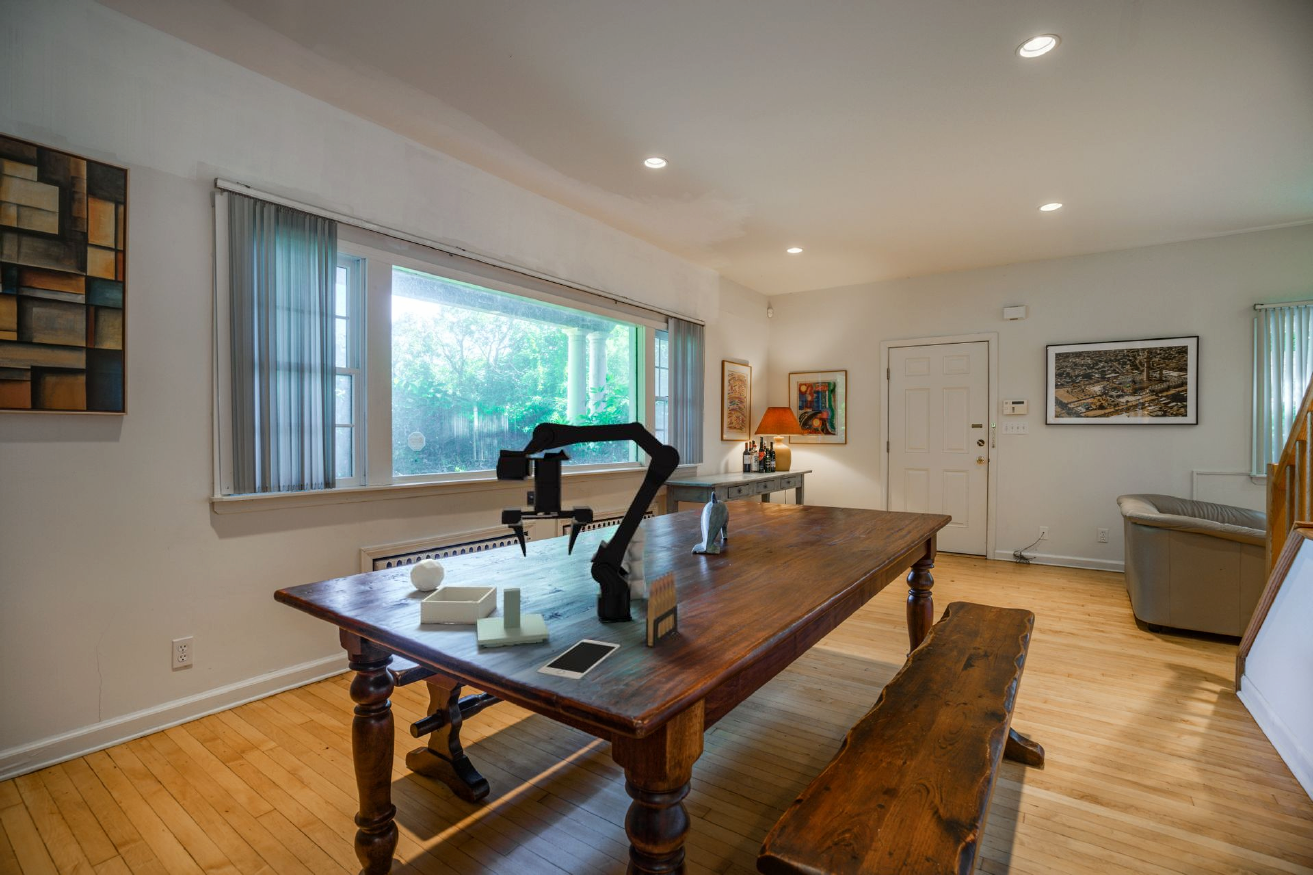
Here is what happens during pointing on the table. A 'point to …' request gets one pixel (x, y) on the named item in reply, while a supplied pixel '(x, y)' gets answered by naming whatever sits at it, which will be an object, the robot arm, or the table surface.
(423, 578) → the geometric ball
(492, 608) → the tub
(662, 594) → the ammunition clip
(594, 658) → the cell phone
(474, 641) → the table surface
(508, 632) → the lid
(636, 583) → the plastic bottle
